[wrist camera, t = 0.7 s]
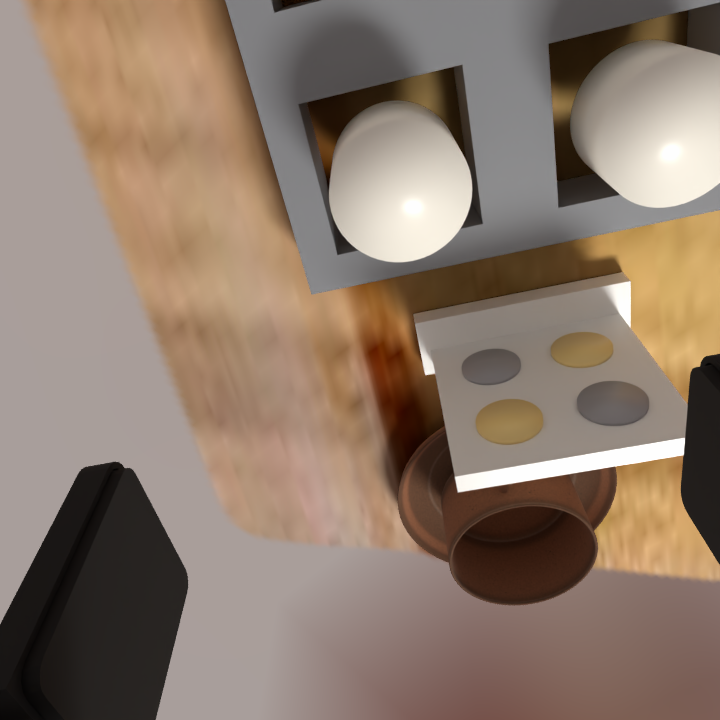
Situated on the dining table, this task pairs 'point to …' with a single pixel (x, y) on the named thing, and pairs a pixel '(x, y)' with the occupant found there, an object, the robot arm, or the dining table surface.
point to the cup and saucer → (505, 526)
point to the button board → (476, 106)
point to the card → (548, 384)
